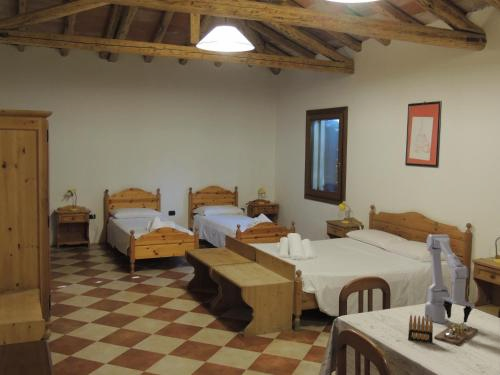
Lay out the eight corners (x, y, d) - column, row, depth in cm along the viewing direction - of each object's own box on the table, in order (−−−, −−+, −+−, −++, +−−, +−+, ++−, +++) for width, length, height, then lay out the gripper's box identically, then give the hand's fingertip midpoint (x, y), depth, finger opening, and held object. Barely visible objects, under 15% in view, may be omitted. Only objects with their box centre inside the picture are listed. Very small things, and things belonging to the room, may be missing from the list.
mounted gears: (442, 336, 234) (442, 329, 234) (459, 325, 249) (459, 319, 248) (453, 340, 231) (454, 333, 230) (470, 328, 245) (470, 322, 244)
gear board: (434, 338, 235) (434, 336, 235) (455, 325, 252) (455, 323, 252) (457, 345, 227) (458, 342, 227) (477, 331, 244) (478, 328, 244)
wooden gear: (453, 329, 244) (453, 323, 243) (465, 332, 240) (465, 326, 239) (448, 332, 239) (448, 326, 239) (460, 335, 235) (460, 329, 235)
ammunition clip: (432, 341, 231) (433, 316, 230) (432, 343, 230) (433, 317, 229) (408, 338, 235) (409, 313, 234) (407, 340, 233) (408, 315, 232)
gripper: (439, 290, 240) (438, 317, 241) (471, 297, 230) (469, 325, 231) (446, 287, 245) (444, 314, 246) (476, 293, 235) (475, 322, 236)
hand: (457, 319), depth 239 cm, fingers open, 7 cm apart
